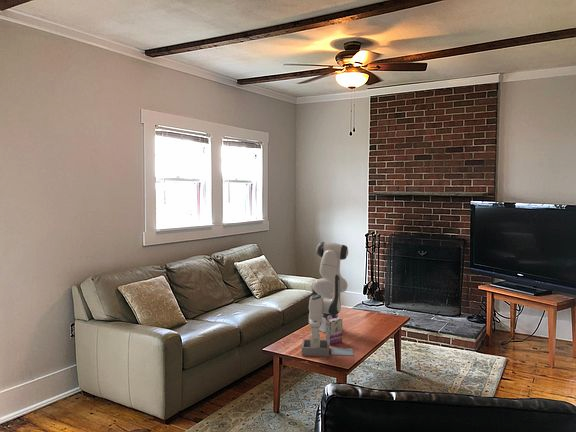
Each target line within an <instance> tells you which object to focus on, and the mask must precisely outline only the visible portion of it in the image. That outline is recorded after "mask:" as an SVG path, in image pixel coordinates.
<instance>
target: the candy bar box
mask: <svg viewBox="0 0 576 432" xmlns="http://www.w3.org/2000/svg"><path fill="white" fill-rule="evenodd" d="M325 340H329V346H333V345H337V344H341V343H343V318H341V317H339V316H338V317H337V318H333V319H329V320H326V333H325Z"/></svg>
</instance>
